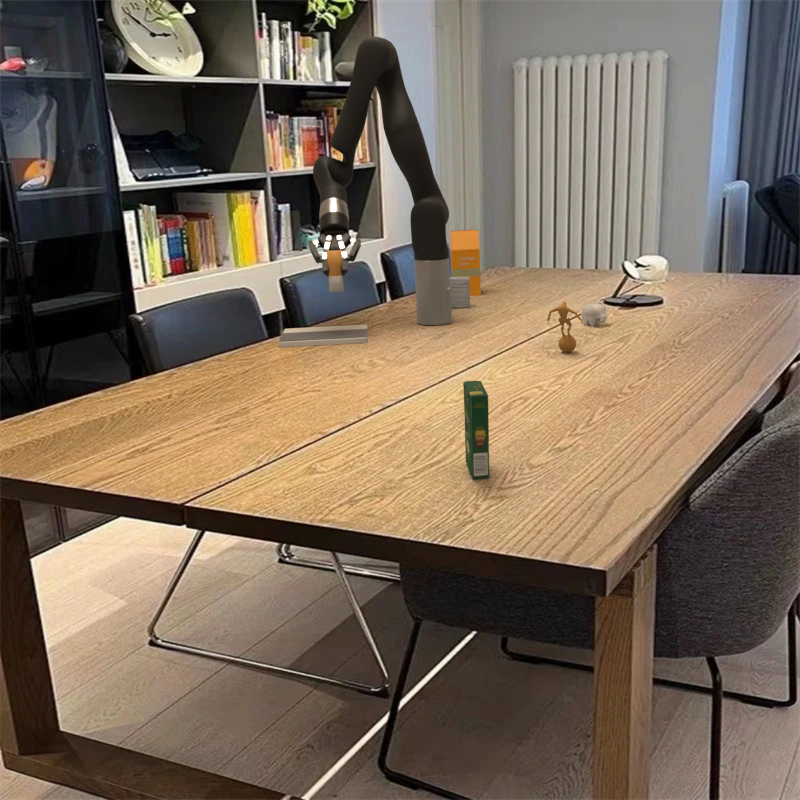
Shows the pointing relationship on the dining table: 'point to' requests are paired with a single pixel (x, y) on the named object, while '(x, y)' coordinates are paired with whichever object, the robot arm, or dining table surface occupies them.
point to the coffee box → (476, 429)
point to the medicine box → (460, 292)
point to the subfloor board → (324, 335)
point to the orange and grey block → (335, 271)
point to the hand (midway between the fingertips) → (335, 273)
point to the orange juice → (466, 258)
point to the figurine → (566, 341)
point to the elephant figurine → (594, 314)
